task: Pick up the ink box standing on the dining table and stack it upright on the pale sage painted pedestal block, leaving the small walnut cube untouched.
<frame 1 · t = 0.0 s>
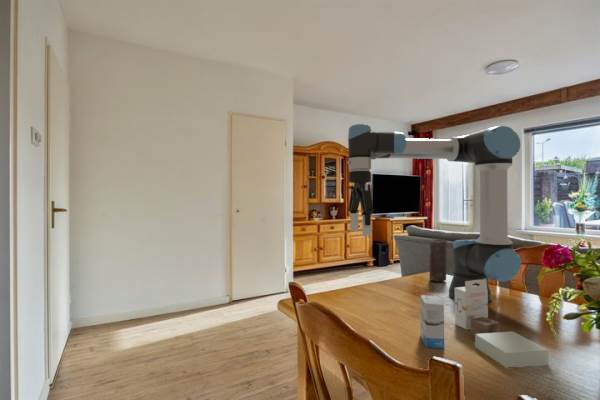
hand: (360, 233, 113), 28 cm above the table, fingers open, 13 cm apart
ink cartridge box: (471, 326, 103), on the table
ink box: (431, 342, 92), on the table
dark brown tall block: (437, 281, 157), on the table
walnut cube: (484, 338, 94), on the table
pedestal block: (509, 357, 83), on the table
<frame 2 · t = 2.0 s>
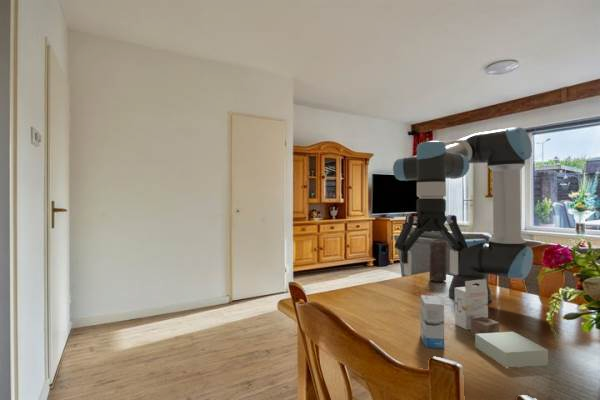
hand: (431, 274, 92), 19 cm above the table, fingers open, 13 cm apart
nothing on the table moved.
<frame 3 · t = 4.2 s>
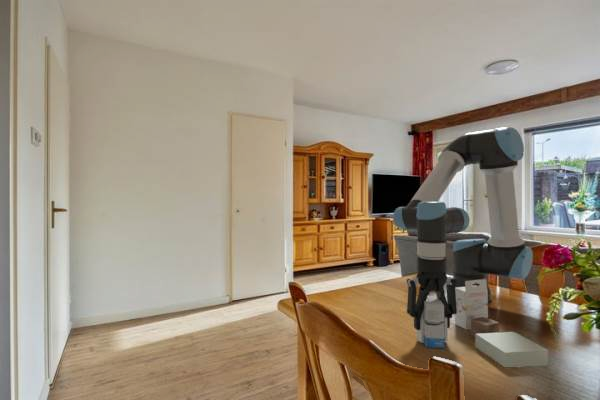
hand: (432, 339, 92), 0 cm above the table, fingers closed on ink box, 6 cm apart
ink box: (432, 342, 92), on the table, touching gripper
everything else where it was.
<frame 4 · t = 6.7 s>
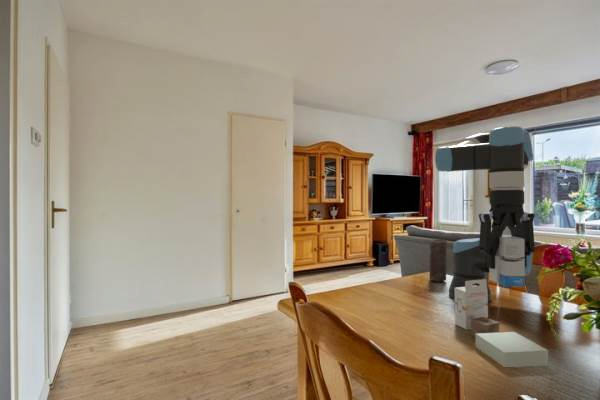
hand: (506, 280, 83), 19 cm above the table, fingers closed on ink box, 6 cm apart
ink box: (507, 283, 83), point 18 cm above the table, touching gripper
everything else where it was.
when the fingers open (6 cm above the table, at t = 9.5 s): ink box drops 2 cm, resting on pedestal block.
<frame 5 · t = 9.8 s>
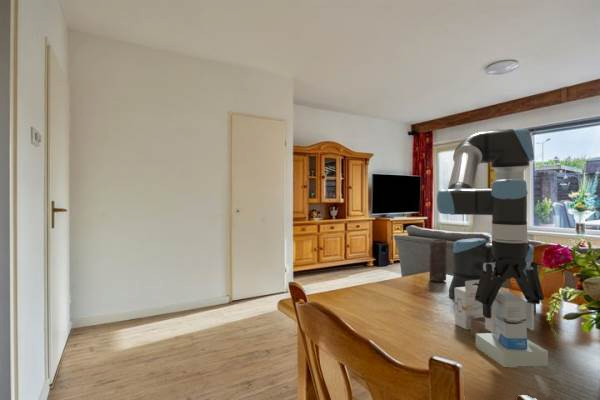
hand: (509, 329, 83), 7 cm above the table, fingers open, 10 cm apart
ink box: (508, 342, 83), point 3 cm above the table, touching pedestal block
pedestal block: (509, 357, 83), on the table, touching ink box
everything else where it was.
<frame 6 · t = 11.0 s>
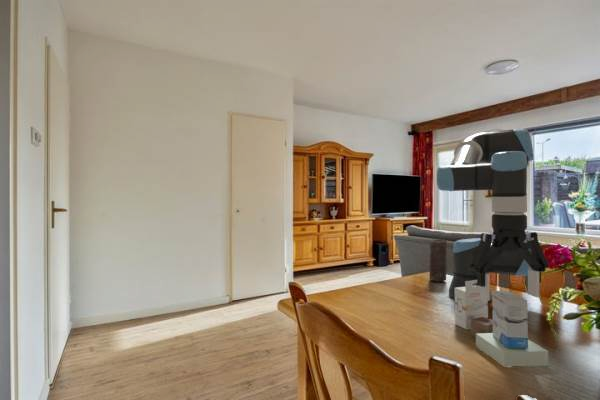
hand: (509, 297, 84), 15 cm above the table, fingers open, 13 cm apart
ink box: (509, 342, 83), point 3 cm above the table
pedestal block: (509, 357, 84), on the table
everything else where it was.
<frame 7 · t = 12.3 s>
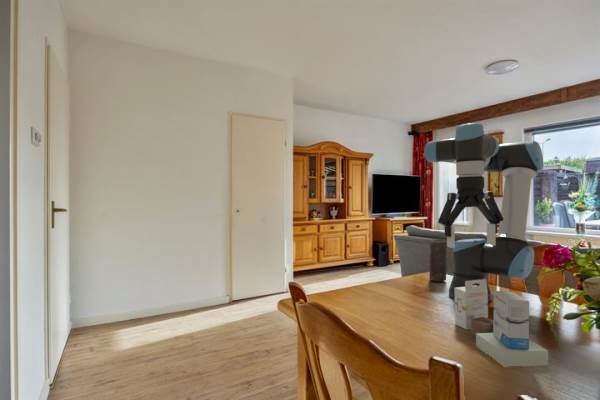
hand: (471, 246, 100), 25 cm above the table, fingers open, 13 cm apart
ink box: (510, 342, 83), point 3 cm above the table, touching pedestal block
pedestal block: (509, 357, 84), on the table, touching ink box
everything else where it was.
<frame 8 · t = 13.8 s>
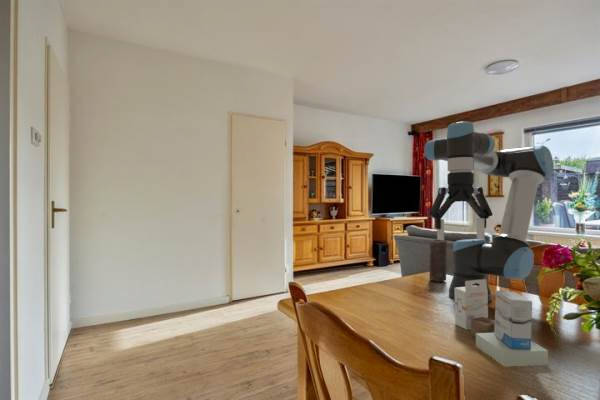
hand: (460, 239, 105), 27 cm above the table, fingers open, 13 cm apart
ink box: (511, 342, 83), point 3 cm above the table
pedestal block: (509, 357, 84), on the table
everything else where it was.
at the end: ink box inside the target area on the pedestal block (0.5 cm from its centre), point 3.9 cm above the pedestal block's base; ink box tilted 2°; the gripper is holding nothing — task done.
